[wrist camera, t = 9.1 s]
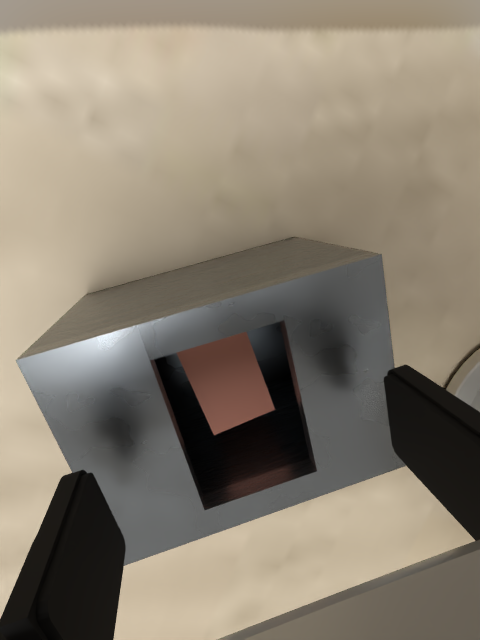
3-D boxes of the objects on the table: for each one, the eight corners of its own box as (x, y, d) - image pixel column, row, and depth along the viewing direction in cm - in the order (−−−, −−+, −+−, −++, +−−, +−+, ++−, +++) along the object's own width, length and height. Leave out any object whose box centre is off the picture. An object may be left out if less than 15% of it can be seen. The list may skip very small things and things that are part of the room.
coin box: (294, 237, 20) (381, 254, 12) (320, 373, 23) (405, 465, 15) (85, 294, 19) (15, 360, 11) (140, 430, 22) (120, 566, 14)
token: (224, 294, 20) (243, 322, 15) (250, 361, 21) (275, 409, 16) (174, 313, 20) (175, 350, 14) (203, 380, 21) (213, 435, 16)
